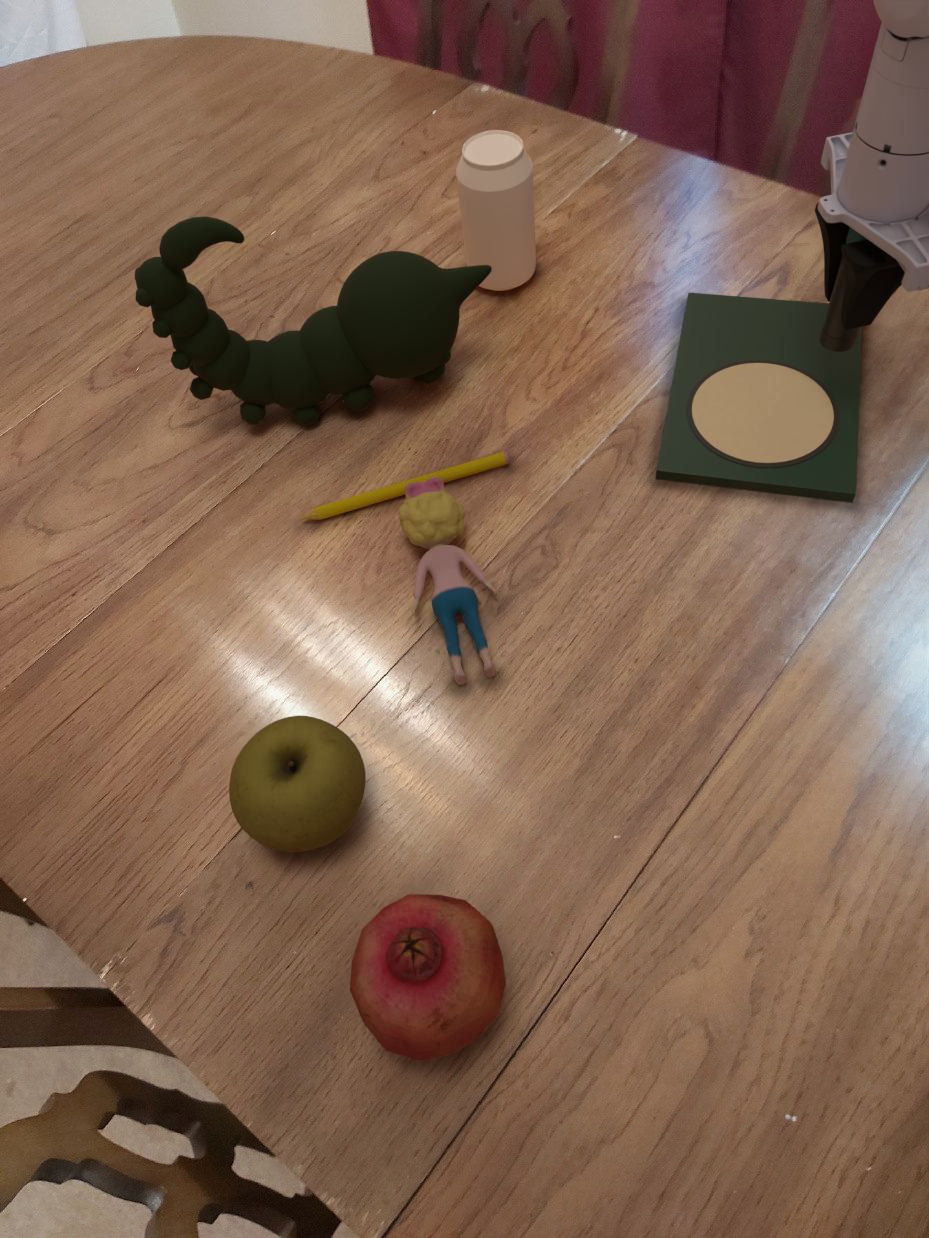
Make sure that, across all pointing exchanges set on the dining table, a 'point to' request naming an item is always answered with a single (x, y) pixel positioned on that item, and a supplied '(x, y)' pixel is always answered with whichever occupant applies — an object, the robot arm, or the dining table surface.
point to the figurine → (445, 566)
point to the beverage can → (498, 208)
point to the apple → (297, 784)
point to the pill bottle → (839, 310)
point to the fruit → (427, 976)
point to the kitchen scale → (762, 400)
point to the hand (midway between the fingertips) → (847, 310)
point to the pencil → (399, 487)
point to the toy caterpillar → (308, 328)
